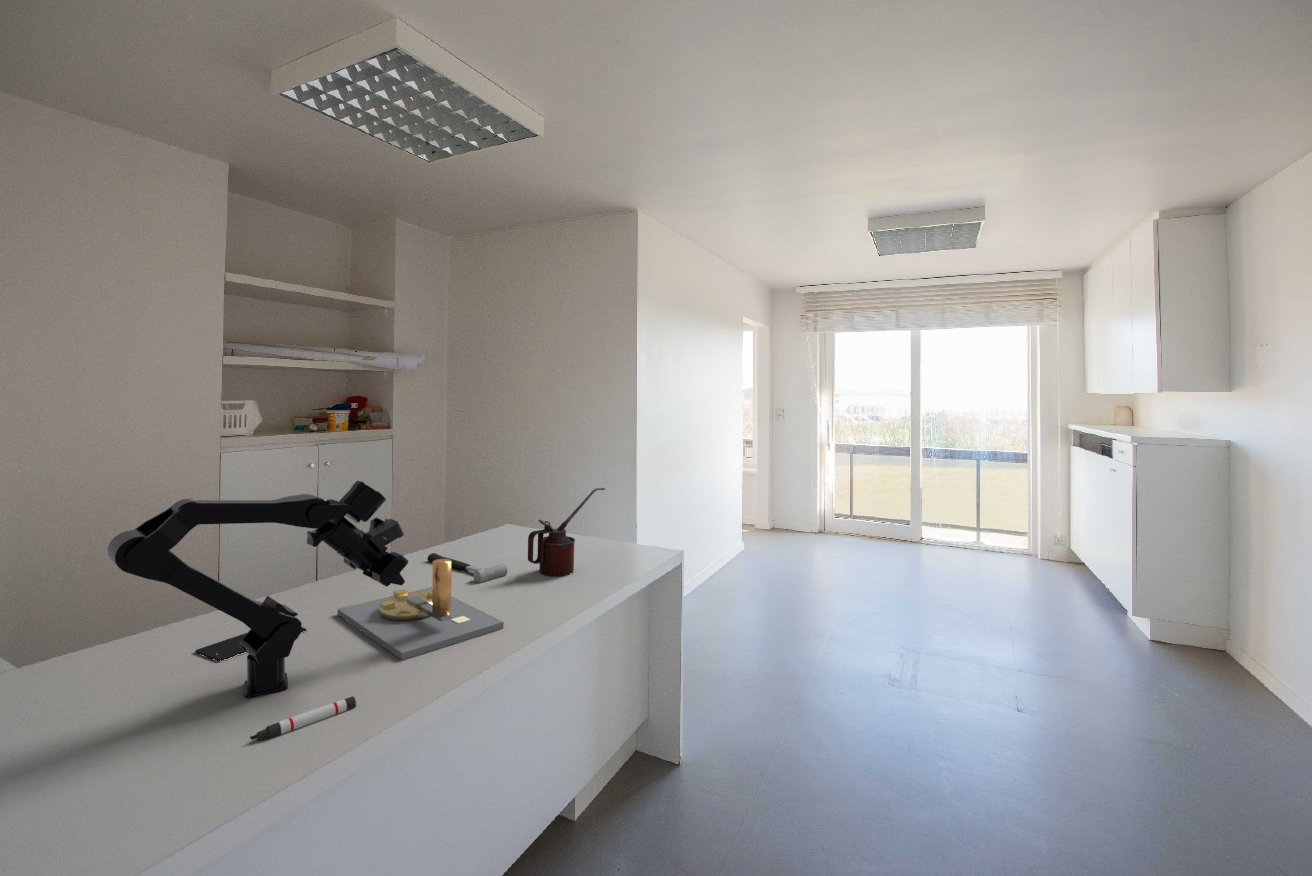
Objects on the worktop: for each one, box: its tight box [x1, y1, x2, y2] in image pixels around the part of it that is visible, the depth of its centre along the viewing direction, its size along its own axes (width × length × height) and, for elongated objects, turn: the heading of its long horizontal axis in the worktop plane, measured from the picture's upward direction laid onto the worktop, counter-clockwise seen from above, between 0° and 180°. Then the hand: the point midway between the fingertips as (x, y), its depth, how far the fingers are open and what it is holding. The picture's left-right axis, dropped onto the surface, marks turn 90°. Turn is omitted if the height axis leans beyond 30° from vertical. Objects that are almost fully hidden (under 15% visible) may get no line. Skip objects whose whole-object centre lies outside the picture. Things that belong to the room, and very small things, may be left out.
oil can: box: [527, 487, 606, 577], centre depth 184 cm, size 28×11×25 cm, turn 134°
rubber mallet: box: [426, 552, 508, 584], centre depth 180 cm, size 10×4×30 cm
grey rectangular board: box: [337, 586, 505, 661], centre depth 139 cm, size 34×24×2 cm
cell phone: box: [195, 626, 307, 661], centre depth 125 cm, size 9×18×1 cm, turn 155°
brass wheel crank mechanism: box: [379, 558, 453, 622], centre depth 138 cm, size 24×14×15 cm, turn 49°
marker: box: [249, 696, 357, 741], centre depth 95 cm, size 15×2×2 cm, turn 140°
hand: (402, 583), depth 125 cm, fingers closed
